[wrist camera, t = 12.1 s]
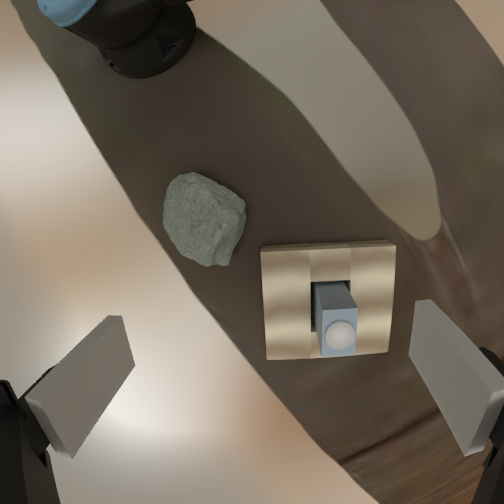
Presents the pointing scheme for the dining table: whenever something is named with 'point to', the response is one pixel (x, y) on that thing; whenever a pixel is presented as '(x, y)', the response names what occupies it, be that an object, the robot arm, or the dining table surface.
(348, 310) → the keyed peg
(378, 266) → the hub block
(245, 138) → the dining table surface
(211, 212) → the decorative stone
